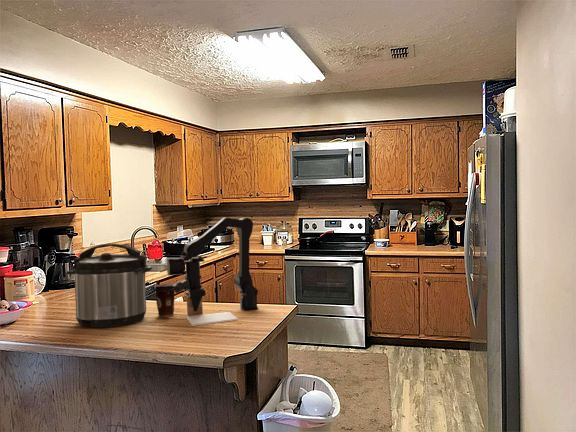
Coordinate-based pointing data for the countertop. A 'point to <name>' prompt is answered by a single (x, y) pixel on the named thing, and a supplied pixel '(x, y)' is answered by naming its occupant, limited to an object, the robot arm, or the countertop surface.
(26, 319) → the countertop surface
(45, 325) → the countertop surface
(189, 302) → the walnut slab
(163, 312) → the coffee cup
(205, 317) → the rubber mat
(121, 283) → the pressure cooker
